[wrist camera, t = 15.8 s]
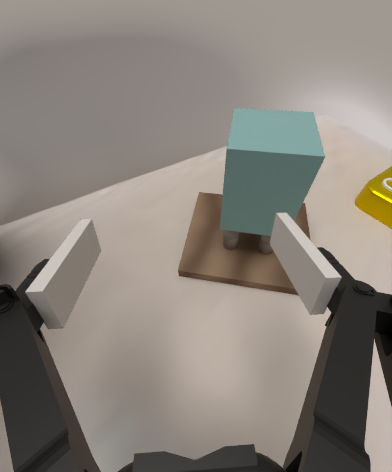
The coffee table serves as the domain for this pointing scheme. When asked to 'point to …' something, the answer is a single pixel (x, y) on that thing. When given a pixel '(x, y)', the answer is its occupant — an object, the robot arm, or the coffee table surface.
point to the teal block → (268, 167)
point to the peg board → (232, 251)
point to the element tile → (378, 198)
